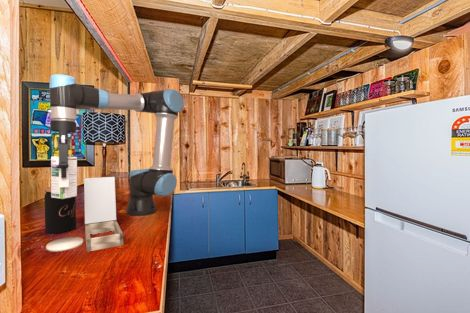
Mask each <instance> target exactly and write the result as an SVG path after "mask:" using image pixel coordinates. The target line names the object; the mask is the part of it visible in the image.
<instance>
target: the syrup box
mask: <svg viewBox="0 0 470 313" xmlns="http://www.w3.org/2000/svg"><path fill="white" fill-rule="evenodd" d="M50 160H51V161H50V166H51V167H50V173H51V174H50V178H51V179H50V180H51V181H50V182H51V184H50V187H51V198H59V199H65V198H70V197H74V196H76V197H77V196H78V157H77V156H68V168H69V187H60V188H59V168H56V166H58V164H59V155H54V156H51V157H50Z"/></svg>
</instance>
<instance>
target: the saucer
mask: <svg viewBox="0 0 470 313" xmlns="http://www.w3.org/2000/svg"><path fill="white" fill-rule="evenodd" d="M83 244H84V239H83V237H79V236H70V237H69V236H68V237H62V238H59V239H54V240H52V241H50V242H48V243H47V244H46V245H45V249H46V251H49V252H63V251H69V250H72V249H76V248H78V247H80V246H82V245H83Z"/></svg>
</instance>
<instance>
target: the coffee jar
mask: <svg viewBox="0 0 470 313" xmlns="http://www.w3.org/2000/svg"><path fill="white" fill-rule="evenodd" d="M43 189H44V190H43V191H44V192H45V193H44V231H45V232H46V233H47V234H49V235H58V234H65V232H66V233H69V232H71V230H72V231H73V230H75V228H76V227H77V205H76V204H77V201H76V199H77V198H76V197H77V196H74V197H70V198H65V199H59V198H51V186H47V187H44V188H43ZM68 231H69V232H68Z"/></svg>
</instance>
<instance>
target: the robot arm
mask: <svg viewBox="0 0 470 313" xmlns="http://www.w3.org/2000/svg"><path fill="white" fill-rule="evenodd" d="M48 88H49V104H50V105H49V107H50V109H48V110H47V113H49V114H50V115H49V116H50V119H51V120H50V121H49V123H50V128H49V130H50V131H51V132H55V133H57V132H58V133H59V136H56V142H57V150H58V156H59V164H58V166H56V168H59V188H60V187H69V168H68V156H69V154H70V153H69V150H70V149H71V138H72V137H69V133H76V132H77V123H76V122H75V121H77V110H103V111H104V110H109V111H110V110H111V111H112V110H115V111H118V110H121V111H125V110H126V111H135V112H137V113H147V114H153V115H154V116H155V117H156V127H155V136H154V137H155V138H154V150H153V158H152V165H151V166H150V167H149V168H143V169H133V170H132V169H131V171H130V172H129V200H128V203H127V204H126V207H125V208H126V209H125V213H126V215H128V216H146V215H151V214H154V213H156V212H157V205H156V202H155V200H154V196H156V197H157V196H158V197H168V196H170V195H172V193H174V191H175V189H176V188H177V184H178V181H177V180H178V179H177V178H176V175H175V174H174V169H173V168H172V167H171V164H172V163H171V161H172V150H173V140H174V130H175V121H176V120H177V119H178V117H179V113H180V112H182V111H183V109H184V98H183V97H182V95H181V93H180V91H178V90H176V89H173V88H171V89H170V88H167V89H160V90H152V91H147V92H136V93H134V94H129V93H128V94H127V93H113V92H108V91H106V90H105V89H100V88H95V87H90V86H85V85H81V84H77V81H76V77H73V76H71V75H67V74H57V73H56V74H52V75H50V78H49V87H48Z"/></svg>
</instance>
